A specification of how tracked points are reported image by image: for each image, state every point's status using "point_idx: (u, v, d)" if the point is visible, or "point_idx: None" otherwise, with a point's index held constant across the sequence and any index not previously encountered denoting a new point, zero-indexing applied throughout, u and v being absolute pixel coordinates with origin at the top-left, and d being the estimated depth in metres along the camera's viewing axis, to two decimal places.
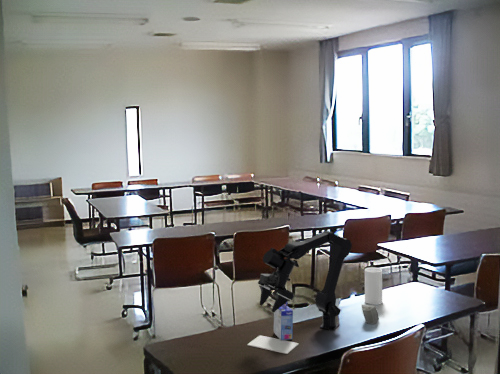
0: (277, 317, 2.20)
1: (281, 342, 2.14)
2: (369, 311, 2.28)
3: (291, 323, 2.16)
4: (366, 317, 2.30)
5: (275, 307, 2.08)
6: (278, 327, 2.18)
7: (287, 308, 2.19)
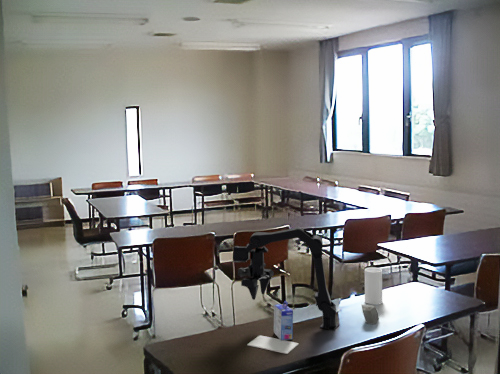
0: (277, 317, 2.20)
1: (281, 342, 2.14)
2: (369, 311, 2.28)
3: (291, 323, 2.16)
4: (366, 317, 2.30)
5: (252, 295, 2.28)
6: (278, 327, 2.18)
7: (287, 308, 2.19)
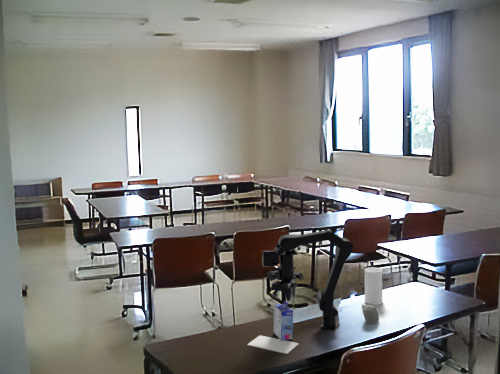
0: (277, 317, 2.20)
1: (281, 342, 2.14)
2: (369, 311, 2.28)
3: (291, 323, 2.16)
4: (366, 317, 2.30)
5: (286, 296, 2.26)
6: (278, 327, 2.18)
7: (287, 308, 2.19)
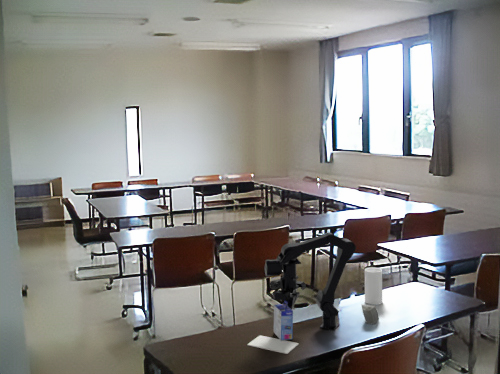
0: (277, 317, 2.20)
1: (281, 342, 2.14)
2: (369, 311, 2.28)
3: (291, 323, 2.16)
4: (366, 317, 2.30)
5: (288, 305, 2.25)
6: (278, 327, 2.18)
7: (287, 308, 2.19)
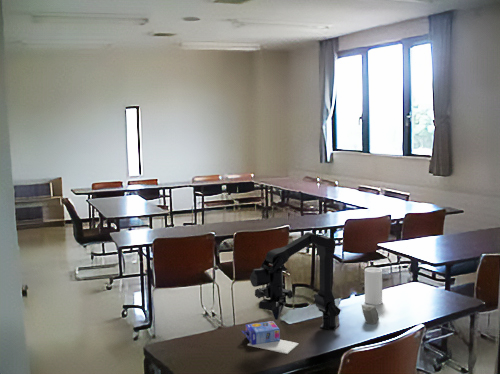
0: None
1: (281, 342, 2.14)
2: (369, 311, 2.28)
3: (264, 332, 2.13)
4: (366, 317, 2.30)
5: (274, 315, 2.15)
6: None
7: (249, 333, 2.15)
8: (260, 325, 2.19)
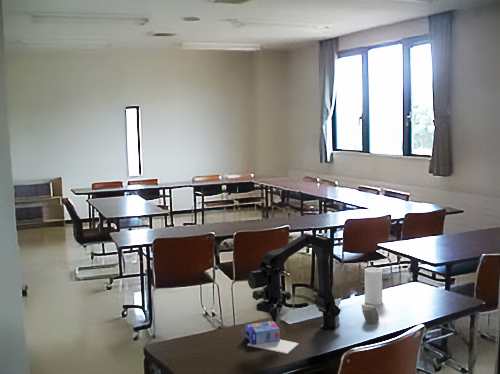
0: None
1: (281, 342, 2.14)
2: (369, 311, 2.28)
3: (264, 332, 2.13)
4: (366, 317, 2.30)
5: (272, 317, 2.13)
6: None
7: (249, 333, 2.15)
8: (260, 325, 2.19)
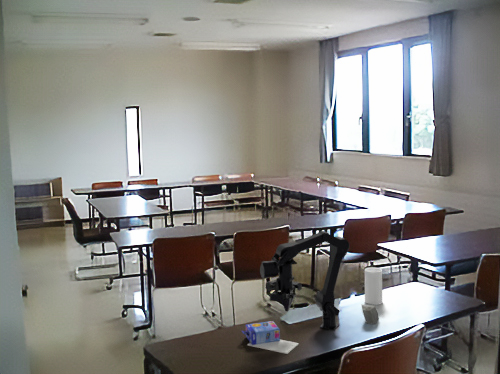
0: None
1: (281, 342, 2.14)
2: (369, 311, 2.28)
3: (264, 332, 2.13)
4: (366, 317, 2.30)
5: (285, 307, 2.22)
6: None
7: (249, 333, 2.15)
8: (260, 325, 2.19)
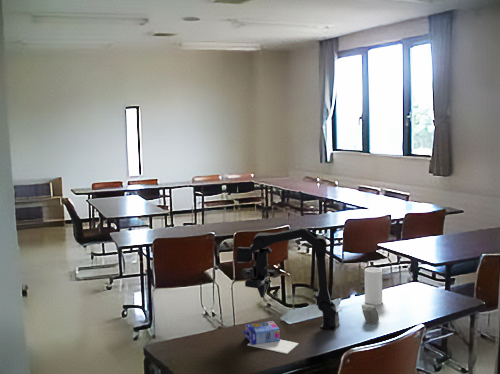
0: None
1: (281, 342, 2.14)
2: (369, 311, 2.28)
3: (264, 332, 2.13)
4: (366, 317, 2.30)
5: (260, 293, 2.30)
6: None
7: (249, 333, 2.15)
8: (260, 325, 2.19)
